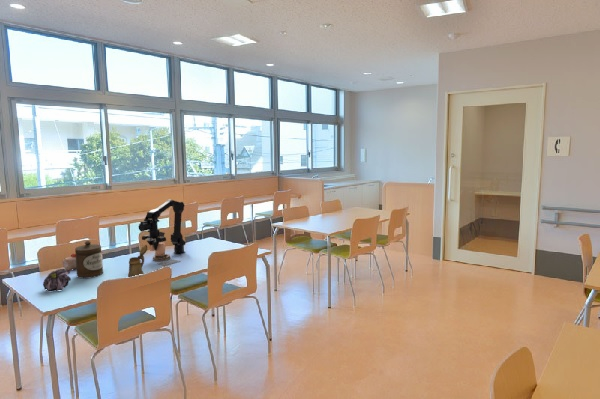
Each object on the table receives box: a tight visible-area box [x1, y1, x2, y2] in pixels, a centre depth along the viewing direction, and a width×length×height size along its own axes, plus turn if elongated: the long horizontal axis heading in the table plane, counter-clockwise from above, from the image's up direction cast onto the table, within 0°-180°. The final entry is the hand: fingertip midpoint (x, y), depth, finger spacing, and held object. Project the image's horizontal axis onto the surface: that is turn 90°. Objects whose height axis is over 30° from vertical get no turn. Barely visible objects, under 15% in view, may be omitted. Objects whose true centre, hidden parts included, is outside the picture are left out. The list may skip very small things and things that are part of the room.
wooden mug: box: [127, 244, 148, 278], centre depth 256 cm, size 9×14×18 cm, turn 142°
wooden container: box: [75, 240, 104, 279], centre depth 256 cm, size 15×15×22 cm
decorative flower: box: [42, 268, 72, 292], centre depth 232 cm, size 14×12×15 cm
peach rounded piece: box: [149, 242, 167, 256], centre depth 289 cm, size 12×7×9 cm, turn 151°
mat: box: [157, 259, 182, 267], centre depth 282 cm, size 13×9×1 cm
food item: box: [62, 253, 77, 271], centre depth 271 cm, size 14×8×10 cm, turn 141°
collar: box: [152, 253, 171, 262], centre depth 292 cm, size 12×12×2 cm
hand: (154, 250), depth 287 cm, fingers closed on peach rounded piece
